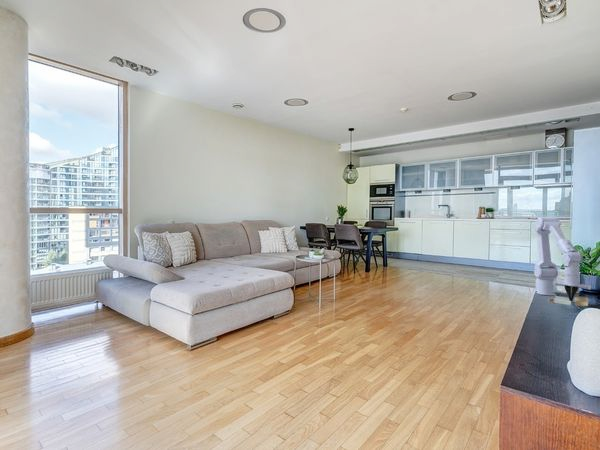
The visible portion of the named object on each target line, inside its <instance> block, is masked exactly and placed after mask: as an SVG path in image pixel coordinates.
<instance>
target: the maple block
mask: <svg viewBox="0 0 600 450" xmlns="http://www.w3.org/2000/svg"><path fill="white" fill-rule="evenodd" d="M574 306H578V307H584V306H588V307H589V297H588V296H580V295H575V296H574Z"/></svg>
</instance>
